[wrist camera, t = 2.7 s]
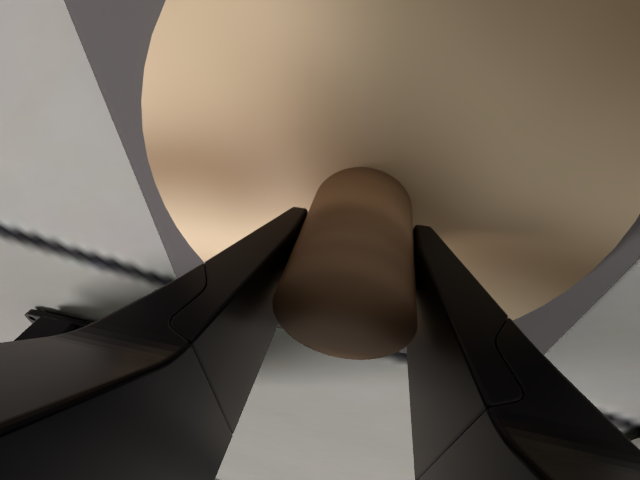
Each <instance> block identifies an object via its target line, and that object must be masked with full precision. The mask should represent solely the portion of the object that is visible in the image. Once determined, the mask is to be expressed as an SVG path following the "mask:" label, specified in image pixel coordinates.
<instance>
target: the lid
mask: <svg viewBox="0 0 640 480" xmlns="http://www.w3.org/2000/svg"><path fill="white" fill-rule="evenodd" d="M141 106H142V127H143V135H144V141H145V147H146V152H147V158H148V161H149V165H150V168H151V171H152V175H153V178H154V181H155V184H156V186H157V189H158V191H159V193H160V196H161V198H162V200H163V203H164V205H165V207H166V209H167V211H168V212H169V214H170V216H171V218H172V220H173V221H174V223H175V225H176V227H177V228H178V229H179V231H180V232H181V234H182V235H183V237H184V238H185V239H186V241H187V242H188V244H189V245H190V246H191V248H192V249H193V250H194V251H195V252H196V253H197V255H198V256H199V257H200V258H201V259H202V260H203V262H204V263H205V261H207V260H209V259H210V258H212V257H213V256H215V255H217V254H218V253H220V252H221V251H223V250H225V249H226V248H228V247H229V246H231V245H233V244H234V243H236V242H237V241H239V240H241V239H242V238H244V237H246V236H247V235H249V234H250V233H252V232H254V231H255V230H257V229H258V228H260V227H262V226H263V225H265V224H266V223H268V222H270V221H271V220H273V219H274V218H276V217H278V216H279V215H281V214H282V213H284V212H286V211H287V210H289V209H290V208H292V207H300V208H306V209H307V211H308V214H307V216H306V219H305V221H304V224H303V226H302V228H301V231H300V233H299V236H298V238H297V240H296V243H295V245H294V248H293V250H292V252H291V255H290V257H289V260H288V262H287V264H286V267H285V269H284V272H283V274H282V276H281V279H280V281H279V284H278V286H277V288H276V291H275V293H274V296H273V301H272V307H273V312H274V314H275V317H276V319H277V321H278V322H279V324H280V325H281V326H282V328H283V329H284V330H285V331H286V332H287V333H288V334H289V335H290V336H292V337H293V338H294V339H295V340H297V341H298V342H300V343H302V344H303V345H305V346H307V347H309V348H311V349H313V350H316V351H318V352H321V353H324V354H327V355H330V356H334V357H339V358H345V359H357V360H365V359H376V358H382V357H386V356H389V355H392V354H394V353H396V352H399V351H400V350H402V349H403V348H405V347H406V346H407V345H408V344H409V343H410V342H411V341H412V340H413V338H414V336H415V334H416V331H417V323H418V322H417V301H416V280H415V259H414V238H413V228H414V226H415V225H424V226H430V227H431V228H432V229H433V230H434V231H435V232H436V233H437V234H438V236H439V237H440V238H441V239H442V240H443V241H444V242H445V244H446V245H447V246H448V247H449V248H450V249H451V251H452V252H453V253H454V254H455V255H456V256H457V257H458V259H459V260H460V261H461V262H462V263H463V264H464V265H465V267H466V268H467V269H468V270H469V271H470V272H471V274H472V275H473V276H474V277H475V278H476V279H477V280H478V282H479V283H480V284H481V285H482V286H483V287H484V289H485V290H486V291H487V292H488V293H489V294H490V295H491V297H492V298H493V299H494V300H495V301H496V302H497V304H498V305H499V306H500V307H501V308H502V309H503V310H504V312H505V313H506V314H507V315H508V318H510V319H512V320H515V319H517V318H520V317H522V316H524V315H526V314H528V313H530V312H532V311H533V310H535V309H537V308H539V307H541V306H543V305H545V304H547V303H548V302H550V301H551V300H553V299H554V298H556V297H557V296H559V295H561V294H562V293H564V292H565V291H567V290H568V289H570V288H571V287H572V286H573V285H575V284H576V283H577V282H578V281H580V280H581V279H582V278H583V277H585V276H586V275H587V274H588V273H590V272H591V271H592V270H593V269H594V268H595V267H596V266H597V265H598V264H599V263H600V262H601V261H602V260H603V259H604V258H605V257H606V256H607V255H608V254H609V253H610V252H611V251H612V250H613V249H614V248H615V247H616V246H617V244H618V243H619V242H620V240H621V239H622V238H623V237H624V235H625V234H626V233H627V231H628V230H629V229H630V228H631V226H632V225H633V224H634V222H635V221H636V219H637V218H638V216H639V214H640V0H166V1H165V3H164V6H163V8H162V11H161V13H160V16H159V18H158V21H157V23H156V26H155V28H154V31H153V33H152V37H151V41H150V45H149V50H148V54H147V58H146V62H145V67H144V75H143V86H142V98H141Z"/></svg>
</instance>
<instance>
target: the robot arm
mask: <svg viewBox="0 0 640 480" xmlns="http://www.w3.org/2000/svg"><path fill="white" fill-rule="evenodd" d="M307 214H308V211H307V209H306V208H300V207H292V208H290V209H289V210H287V211H286V212H284V213H282V214H281V215H279V216H278V217H276V218H274V219H273V220H271V221H270V222H268V223H266V224H265V225H263V226H262V227H260V228H258V229H257V230H255V231H254V232H252V233H250V234H249V235H247V236H246V237H244V238H242V239H241V240H239V241H237V242H236V243H234V244H233V245H231V246H229V247H228V248H226V249H225V250H223V251H221V252H220V253H218V254H217V255H215V256H213V257H212V258H210V259H209V260H207V261H205V264H204V263H202V264H200V265H199V266H197V267H196V268H194V269H192V270H191V271H189V272H187V273H186V274H184V275H182V276H181V277H179V278H177V279H176V280H174V281H172V282H170V283H168V284H167V285H165V286H163V287H161V288H159V289H157V290H155V291H154V292H152V293H150V294H148V295H146V296H144V297H142V298H140V299H138V300H136V301H134V302H132V303H130V304H129V305H127V306H125V307H123V308H121V309H119V310H117V311H115V312H113V313H111V314H109V315H107V316H105V317H103V318H101V319H99V320H98V321H96V322H93V323H92V322H88V321H83V320H79V319H74V318H70V317H65V316H60V315H56V314H51V313H47V312H42V311H38V310H33V309H31V310H29V311H28V312H27V313H26V314H25V316H26V318H27V319H28V320H29V321H30V322H31V323H32V325H31V326H30V327H28V328H27V329H26V330H25V331H24V332H23V333H22V334H21V335H20V336H19V337H18V338H16V339H15V340H14V341H11V342H3V343H0V480H215V477H216V475H217V472H218V470H219V467H220V465H221V463H222V460H223V458H224V455H225V453H226V450H227V448H228V445H229V443H230V441H231V438H232V434H233V433H234V430H235V428H236V426H237V423H238V421H239V418H240V416H241V413H242V411H243V408H244V406H245V404H246V401H247V399H248V396H249V394H250V391H251V389H252V386H253V384H254V382H255V379H256V377H257V374H258V372H259V369H260V367H261V364H262V362H263V359H264V357H265V355H266V352H267V350H268V347H269V345H270V342H271V340H272V337H273V335H274V333H275V330H276V328H277V325H278V323H279V322H278V321H277V319H276V317H275V314H274V312H273V307H272V301H273V296H274V293H275V291H276V288H277V286H278V284H279V281H280V279H281V276H282V274H283V272H284V269H285V267H286V264H287V262H288V260H289V257H290V255H291V252H292V250H293V248H294V245H295V243H296V240H297V238H298V236H299V233H300V231H301V228H302V226H303V224H304V221H305V219H306V216H307ZM413 238H414V259H415V280H416V301H417V322H418V323H417V331H416V334H415V336H414V338H413V340H412V341H411V342H410V343H409V344H408V345H407V346H406V347H407V362H408V378H409V393H410V408H411V424H412V439H413V454H414V469H415V480H640V449H639V448H638V447H637V446H636V445H634V444H633V443H632V442H631V441H630V440H629V439H628V438H627V437H626V436H625V435H624V434H623V433H622V432H621V431H620V430H619V429H618V428H617V427H616V426H615V425H614V424H613V423H612V422H611V421H610V420H609V419H607V418H606V417H605V416H604V415H603V414H602V413H601V412H600V411H599V410H598V409H597V408H596V407H595V406H594V405H593V404H592V403H591V402H590V401H589V400H588V399H587V398H586V397H585V396H584V395H583V394H582V393H581V392H580V391H579V390H578V389H577V388H576V387H575V386H574V385H573V384H572V383H571V382H570V381H569V380H568V379H567V378H566V377H565V376H564V375H563V374H562V373H561V372H560V371H559V370H558V369H557V368H556V367H555V366H554V365H553V364H552V363H551V362H550V361H549V360H548V359H547V358H546V357H545V356H544V355H543V354H542V353H541V352H540V351H539V350H538V349H537V347H536V346H535V345H534V344H533V343H532V342H531V341H530V340H529V339H528V338H527V336H526V335H525V334H524V333H523V332H522V331H521V330H520V329H519V328H518V326H517V325H516V324H515V323H514V322H513V321H512V319H510V318H508V315H507V314H506V313H505V312H504V310H503V309H502V308H501V307H500V306H499V305H498V304H497V302H496V301H495V300H494V299H493V298H492V297H491V295H490V294H489V293H488V292H487V291H486V290H485V289H484V287H483V286H482V285H481V284H480V283H479V282H478V280H477V279H476V278H475V277H474V276H473V275H472V274H471V272H470V271H469V270H468V269H467V268H466V267H465V265H464V264H463V263H462V262H461V261H460V260H459V259H458V257H457V256H456V255H455V254H454V253H453V252H452V251H451V249H450V248H449V247H448V246H447V245H446V244H445V242H444V241H443V240H442V239H441V238H440V237H439V236H438V234H437V233H436V232H435V231H434V230H433V229H432V228H431V227H430V226H424V225H415V226H414V228H413Z"/></svg>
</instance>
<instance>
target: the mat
mask: <svg viewBox="0 0 640 480" xmlns="http://www.w3.org/2000/svg"><path fill="white" fill-rule="evenodd" d="M64 1H65V4H66V6H67V9H68V11H69V14H70V16H71V19H72V21H73V24H74V26H75V29H76V31H77V33H78V36H79V38H80V41H81V43H82V46H83V48H84V51H85V53H86V56H87V58H88V61H89V63H90V65H91V68H92V70H93V73H94V75H95V78H96V80H97V83H98V85H99V88H100V90H101V93H102V95H103V97H104V100H105V102H106V105H107V107H108V110H109V112H110V115H111V117H112V120H113V122H114V125H115V127H116V129H117V132H118V134H119V137H120V139H121V142H122V144H123V147H124V149H125V152H126V154H127V157H128V159H129V161H130V164H131V166H132V169H133V171H134V174H135V176H136V179H137V181H138V184H139V186H140V189H141V191H142V193H143V196H144V198H145V201H146V203H147V206H148V208H149V211H150V213H151V216H152V218H153V221H154V223H155V225H156V228H157V230H158V233H159V235H160V238H161V240H162V243H163V245H164V248H165V250H166V253H167V255H168V257H169V260H170V262H171V265H172V267H173V270H174V272H175V275H176V277H177V278H179V277H181V276H182V275H184V274H186V273H187V272H189V271H191V270H192V269H194V268H196V267H197V266H199V265H200V264H202V263H204V262H203V260H202V259H201V258H200V257H199V256H198V255H197V253H196V252H195V251H194V250H193V249H192V248H191V246H190V245H189V244H188V242H187V241H186V239H185V238H184V237H183V235H182V234H181V232H180V231H179V229H178V228H177V227H176V225H175V223H174V221H173V220H172V218H171V216H170V214H169V212H168V211H167V209H166V207H165V205H164V203H163V200H162V198H161V196H160V193H159V191H158V189H157V186H156V184H155V181H154V178H153V175H152V171H151V168H150V165H149V161H148V158H147V152H146V147H145V141H144V135H143V127H142V106H141V98H142V86H143V75H144V67H145V62H146V58H147V54H148V50H149V45H150V41H151V37H152V33H153V31H154V28H155V26H156V23H157V21H158V18H159V16H160V13H161V11H162V8H163V6H164V3H165V1H166V0H64ZM639 257H640V214H639V216H638V218H637V219H636V221H635V222H634V224H633V225H632V226H631V228H630V229H629V230H628V231H627V233H626V234H625V235H624V237H623V238H622V239H621V240H620V242H619V243H618V244H617V246H616V247H615V248H614V249H613V250H612V251H611V252H610V253H609V254H608V255H607V256H606V257H605V258H604V259H603V260H602V261H601V262H600V263H599V264H598V265H597V266H596V267H595V268H594V269H593V270H592V271H591V272H590V273H588V274H587V275H586V276H585V277H583V278H582V279H581V280H580V281H578V282H577V283H576V284H575V285H573V286H572V287H571V288H570V289H568V290H567V291H565V292H564V293H562V294H561V295H559V296H557V297H556V298H554V299H553V300H551V301H550V302H548V303H547V304H545V305H543V306H541V307H539V308H537V309H535V310H533V311H532V312H530V313H528V314H526V315H524V316H522V317H520V318H517V319H515V320H512V321H513V322H514V323H515V324H516V325H517V326H518V328H519V329H520V330H521V331H522V332H523V333H524V334H525V335H526V336H527V338H528V339H529V340H530V341H531V342H532V343H533V344H534V345H535V346H536V347H537V349H538V350H539V351H540V352H541V353H542V354H543V355H544V354H545V353H546V352H547V351H548V350H549V349H550V347H551V346H552V345H553V344H554V343H555V342H556V341H557V340H558V339H559V338H560V337H561V336H562V335H563V334H564V333H565V332H566V331H567V330H568V329H569V328H570V327H571V326H572V325H573V324H574V323H575V322H576V321H577V320H578V319H579V318H580V317H581V316H582V315H583V314H584V313H585V312H586V311H587V310H588V309H589V308H590V307H591V306H592V305H593V304H594V303H595V302H596V301H597V300H598V299H599V298H600V297H601V296H602V295H603V294H604V293H605V292H606V291H607V290H608V289H609V288H610V287H611V286H612V285H613V284H614V283H615V282H616V281H617V280H618V279H619V278H620V277H621V276H622V275H623V274H624V273H625V272H626V271H627V270H628V269H629V268H630V266H631V265H632V264H633V263H634V262H635V261H636V260H637V259H638V258H639ZM204 264H205V263H204ZM277 328H282V326H281V325H280V324H279V323H278V325H277ZM282 329H283V328H282ZM399 352H401V353H406V354H407V347H405V348H403V349H402V350H400V351H399Z"/></svg>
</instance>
